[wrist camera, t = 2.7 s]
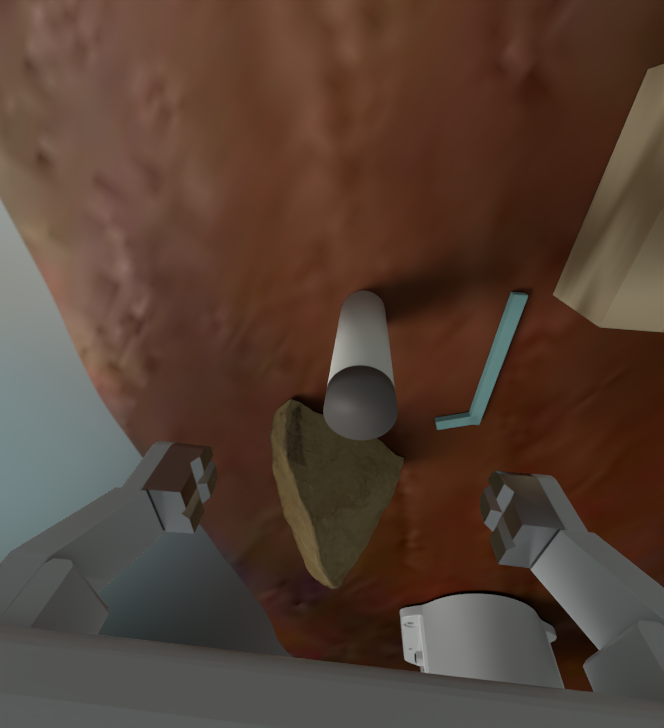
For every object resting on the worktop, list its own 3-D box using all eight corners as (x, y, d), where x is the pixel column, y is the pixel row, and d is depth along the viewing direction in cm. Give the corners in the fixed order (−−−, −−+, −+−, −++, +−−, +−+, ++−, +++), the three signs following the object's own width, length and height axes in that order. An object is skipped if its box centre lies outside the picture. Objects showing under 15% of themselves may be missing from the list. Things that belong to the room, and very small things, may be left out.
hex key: (474, 429, 25) (475, 433, 24) (432, 425, 25) (433, 429, 25) (524, 292, 19) (528, 295, 19) (470, 288, 19) (473, 291, 19)
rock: (227, 428, 24) (283, 522, 27) (252, 483, 17) (326, 604, 20) (343, 360, 28) (381, 450, 31) (408, 379, 20) (449, 496, 23)
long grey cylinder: (381, 333, 21) (391, 443, 13) (339, 329, 22) (322, 436, 13) (387, 292, 20) (402, 386, 11) (342, 288, 20) (324, 379, 12)
